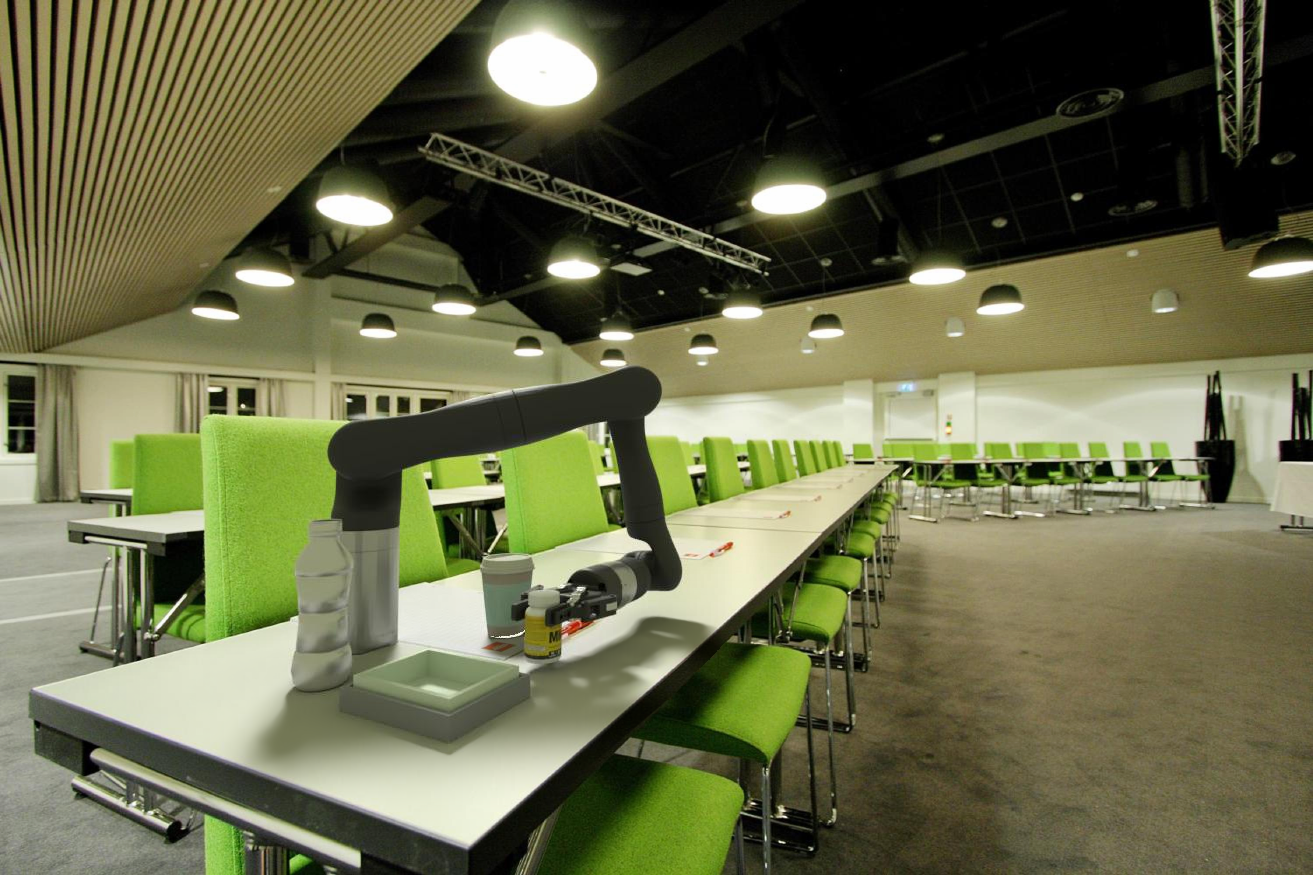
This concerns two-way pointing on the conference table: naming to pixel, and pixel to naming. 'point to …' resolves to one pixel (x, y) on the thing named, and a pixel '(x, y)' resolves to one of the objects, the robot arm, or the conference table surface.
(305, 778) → the conference table surface
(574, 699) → the conference table surface
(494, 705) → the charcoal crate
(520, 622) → the coffee cup
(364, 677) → the sage crate
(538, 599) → the supplement bottle
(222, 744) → the conference table surface
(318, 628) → the plastic bottle
